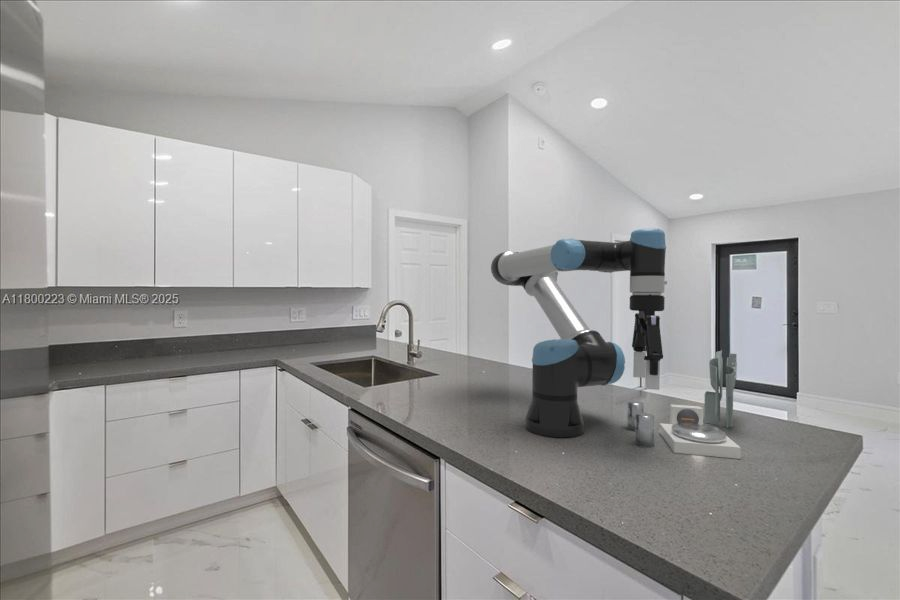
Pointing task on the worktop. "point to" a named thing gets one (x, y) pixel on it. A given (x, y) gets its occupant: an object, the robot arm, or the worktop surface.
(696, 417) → the scale
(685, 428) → the pan
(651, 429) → the grey metal knob
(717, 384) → the bracket
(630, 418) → the cylinder
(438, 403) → the worktop surface
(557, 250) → the robot arm
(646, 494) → the worktop surface
